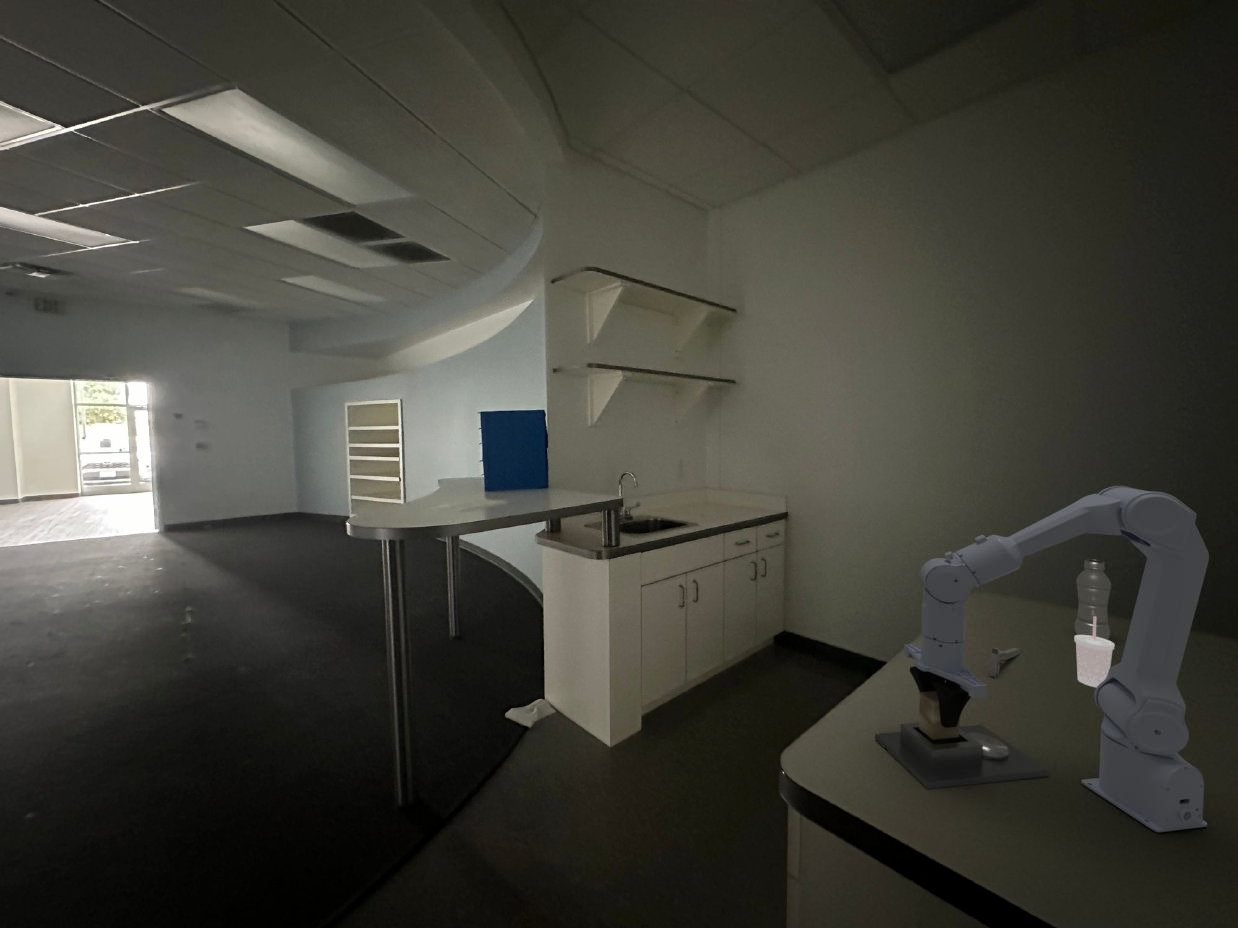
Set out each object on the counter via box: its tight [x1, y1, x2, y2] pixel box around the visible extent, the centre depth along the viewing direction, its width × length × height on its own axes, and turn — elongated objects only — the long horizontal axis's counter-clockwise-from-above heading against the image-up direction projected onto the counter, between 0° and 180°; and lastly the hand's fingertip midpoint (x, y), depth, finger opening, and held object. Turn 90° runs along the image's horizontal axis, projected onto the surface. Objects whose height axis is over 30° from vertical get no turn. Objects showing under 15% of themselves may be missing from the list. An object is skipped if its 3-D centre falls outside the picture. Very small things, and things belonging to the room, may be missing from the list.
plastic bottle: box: [1074, 559, 1112, 640], centre depth 124 cm, size 6×7×20 cm
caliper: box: [989, 647, 1022, 679], centre depth 112 cm, size 20×1×6 cm, turn 129°
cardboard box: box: [918, 691, 961, 740], centre depth 79 cm, size 3×4×6 cm, turn 97°
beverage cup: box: [1073, 616, 1115, 688], centre depth 103 cm, size 6×6×14 cm
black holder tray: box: [874, 721, 1050, 790], centre depth 79 cm, size 12×20×4 cm, turn 97°
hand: (940, 719), depth 79 cm, fingers closed on cardboard box, 3 cm apart
